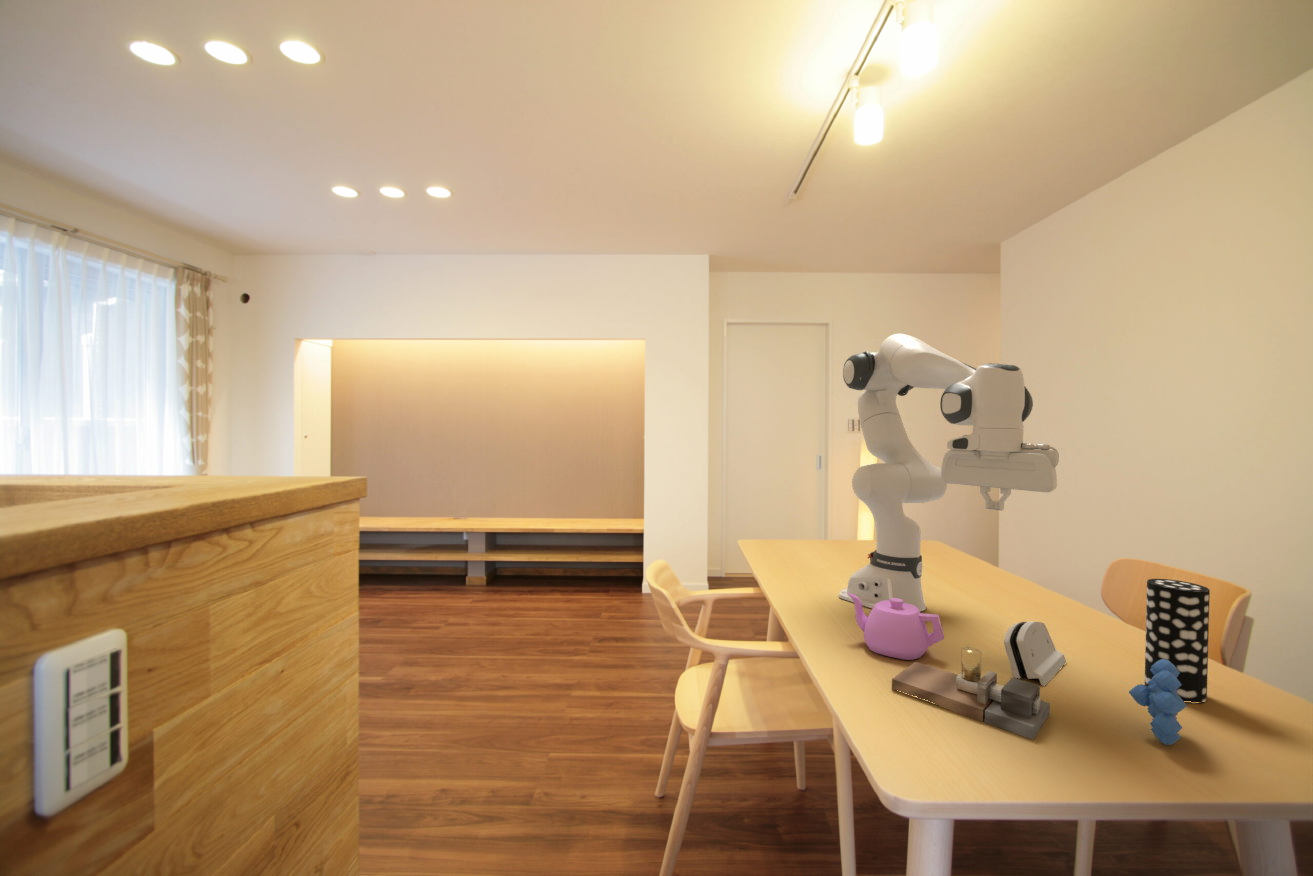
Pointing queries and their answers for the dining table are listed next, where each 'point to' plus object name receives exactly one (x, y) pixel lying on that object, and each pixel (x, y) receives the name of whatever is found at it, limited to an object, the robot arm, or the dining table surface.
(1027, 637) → the light grey rounded piece
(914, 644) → the teapot
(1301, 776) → the dining table surface
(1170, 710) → the grapes
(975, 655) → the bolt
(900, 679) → the door board
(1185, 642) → the white-spotted black cylinder
